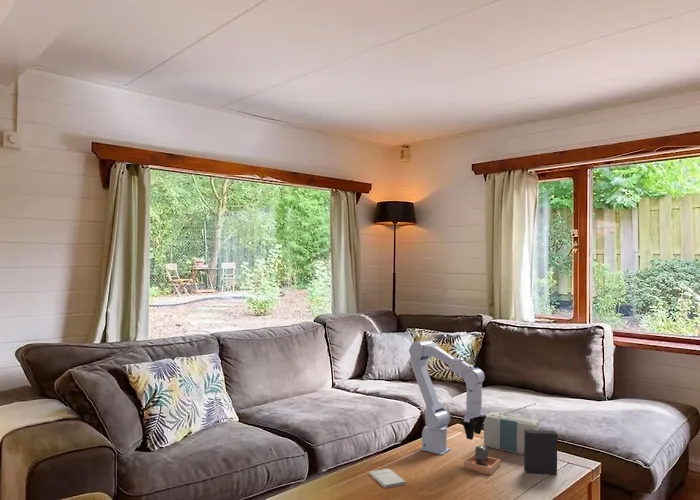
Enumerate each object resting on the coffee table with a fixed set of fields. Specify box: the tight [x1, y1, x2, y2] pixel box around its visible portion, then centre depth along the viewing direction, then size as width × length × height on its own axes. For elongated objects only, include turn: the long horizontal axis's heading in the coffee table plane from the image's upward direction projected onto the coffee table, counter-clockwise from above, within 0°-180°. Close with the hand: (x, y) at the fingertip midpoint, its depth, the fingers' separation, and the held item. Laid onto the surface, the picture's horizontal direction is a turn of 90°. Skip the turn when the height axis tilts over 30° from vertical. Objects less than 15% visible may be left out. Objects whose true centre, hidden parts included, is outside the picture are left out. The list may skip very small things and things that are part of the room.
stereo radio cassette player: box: [483, 402, 540, 456], centre depth 221 cm, size 21×8×20 cm, turn 55°
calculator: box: [523, 429, 559, 476], centre depth 199 cm, size 11×4×15 cm, turn 84°
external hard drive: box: [368, 468, 407, 489], centre depth 191 cm, size 2×8×12 cm
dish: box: [463, 453, 501, 476], centre depth 203 cm, size 10×10×2 cm
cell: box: [475, 445, 489, 467], centre depth 203 cm, size 4×4×7 cm
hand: (473, 436), depth 209 cm, fingers open, 7 cm apart
